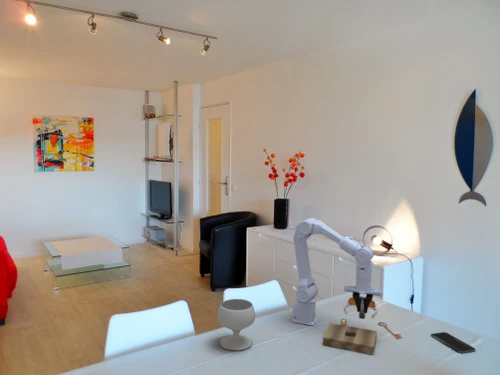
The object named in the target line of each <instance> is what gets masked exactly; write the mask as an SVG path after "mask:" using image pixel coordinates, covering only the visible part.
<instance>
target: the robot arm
mask: <svg viewBox="0 0 500 375" xmlns="http://www.w3.org/2000/svg"><path fill="white" fill-rule="evenodd" d="M295 226H296V229H295V232H294V235H293V236H292V237H293V246H294V251H295V253H294V254H295V261H296V264H297V265H296V267H297V272H298V274H297V275H298V281H297V285H296V287H297V288H296V294H295V295H296V298H294V299H293V302H292V312H291V313H292V314H291V315H292V316H291V317H292V318H291V319H292V320H291V322H292V323H296V324H302V325H303V324H304V325H308V326H315V324H316V322H317V321H318V317H316V302H317V301H316V296H317V295H319V294H318V293H319V288H318V286H317V284H316V281H315V279H314V278H313V276H312V272H311V271H312V270H311V262H310V256H309V249H308V243H307V241H308V239H309V238H310V237H311V236H312V235H323V236H324V237H326V238H328V239H330V240H332V241H333V242H335V243H336V244H338V247H339V249H341V250H343V251H344V252H345V253H347V254H349V255H350V256H351V257H353V258H354V260H355V261H356V268H355V269H356V271H355V286H354V285H352V286H351V285H344V287H343V292H344V293H347V292H348V293H352V296H353V298H354V301H355V303H356V305H355V307H356V312H357V313H359V301H360V296H361V295H365V296H366V308H365V314H367V313H368V309H369V307H368V306H369V304H370V302H371V300H373V297H375V296H376V297H379V298H383V293H384V291H383V290H380V289H376V288H372V269H373V268H372V263H373V262H372V259H373V258H374V257H375V256H374V254H375V253H374V250H373V249H372V248H371V247H370V246H367V245H364V244H363V243H360V242H358V241H357V240H355V239H354V237H353V236H349V235H347V236H343V235H341V234H340V233H338V232H337V231H336V230H334V229H332V228H331V227H329V226H328V225H327V224H325V223H324V222H323V221H322V220H320V219H318V218H316V217H310V218H307V219H302V220H301V221H299V222H298V223H297V225H295ZM352 296H351V297H352Z"/></svg>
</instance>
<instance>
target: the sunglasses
mask: <svg viewBox="0 0 500 375" xmlns="http://www.w3.org/2000/svg"><path fill="white" fill-rule="evenodd" d="M360 297H365V298H366V295H360ZM359 302H360V301H359ZM346 304H347V305H348V306H349V307H350V306H356V303H355V301H354V298H353V296H349V297H348V298H347V300H345V303H344V310H345V313H346V315H347V316H349V314H348V311H347V308H346V307H347V306H346ZM368 309H372V310H375V311H374V313H373V315H372V316H371V317H370V319H373V317H374V316H375V315H376V313H377V311H378V306H377V302H376V301H375V300H374V299H372V300H371V302H370V304H369V306H368Z"/></svg>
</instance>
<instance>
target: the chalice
mask: <svg viewBox="0 0 500 375" xmlns="http://www.w3.org/2000/svg"><path fill="white" fill-rule="evenodd" d="M217 319H218V322H219V324H220V325H221V326H223V327H224V328H226V329H229V330H230V331H231V332H233V334H230V335H227V336H225V337H223V338H222V339H221V340H220V341H219V344H220V346H221V347H222V348H224V349H226V350H229V351H243V350H246V349H247V350H248V349H249V348H251V346H253V340H252V339H251V338H250V337H248V336H246V335H242V334H240V332H241V331H242V330H244V329H247V328H249V327H251V326H252V325H253V324H254V323H255V320H256V310H255V307H254V305H253V303H252V302H251V301H249V300H247V299H241V298H233V299H232V298H231V299H227V300H224V301H222V302H221V304H220V305H219V307H218V311H217Z"/></svg>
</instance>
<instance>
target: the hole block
mask: <svg viewBox="0 0 500 375" xmlns="http://www.w3.org/2000/svg"><path fill="white" fill-rule="evenodd" d="M377 332H378V331H377V330H372V329H367V328H360V327H357V326H356V327H355V326H349V325H347V326H344V325H341V324H337V323H332V322H330V323H329V324H328V326H327V329H326V331H325V333H324V335H323V336H322V346H325V347H330V348H336V349H340V350H345V351H349V352H357V353H361V354H364V355H365V354H366V355H372V356H373V355H374V352H375V347H376V342H377V334H378V333H377Z"/></svg>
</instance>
